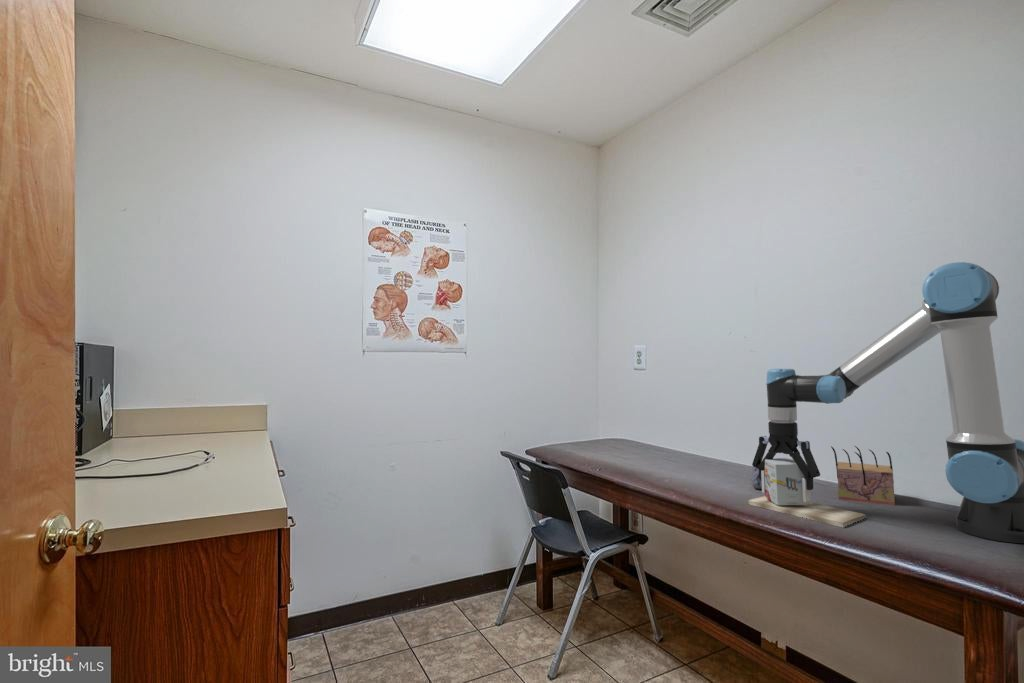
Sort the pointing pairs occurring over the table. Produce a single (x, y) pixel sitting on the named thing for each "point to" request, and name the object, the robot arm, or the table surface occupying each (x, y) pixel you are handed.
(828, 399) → the robot arm
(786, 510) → the board
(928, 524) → the table surface
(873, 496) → the anatomical model
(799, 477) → the ink box
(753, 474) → the rock
